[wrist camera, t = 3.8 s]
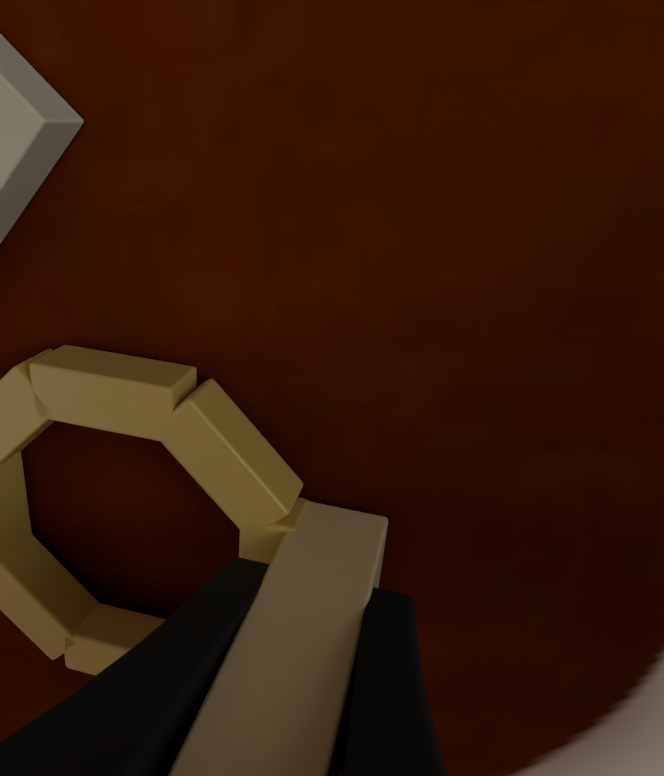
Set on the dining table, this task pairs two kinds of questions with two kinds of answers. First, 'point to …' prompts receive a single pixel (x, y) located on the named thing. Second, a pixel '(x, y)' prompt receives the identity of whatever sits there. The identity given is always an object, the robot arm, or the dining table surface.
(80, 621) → the tan ring with handle
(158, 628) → the robot arm
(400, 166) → the dining table surface
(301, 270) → the dining table surface
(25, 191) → the white peg stand
